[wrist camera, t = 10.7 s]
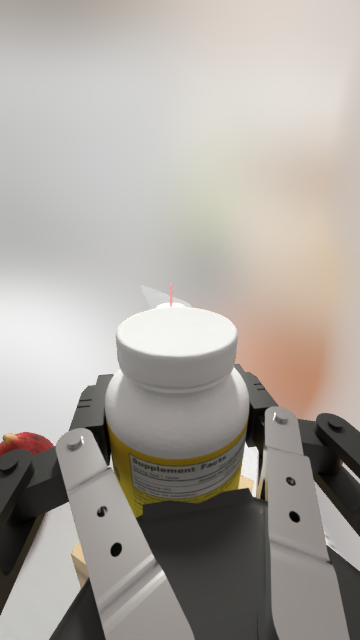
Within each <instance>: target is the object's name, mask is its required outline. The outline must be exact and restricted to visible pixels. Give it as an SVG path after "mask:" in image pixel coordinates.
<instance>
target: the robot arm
mask: <svg viewBox="0 0 360 640" xmlns="http://www.w3.org/2000/svg"><path fill="white" fill-rule="evenodd" d="M234 368H235V369H236V370H237V371H238V372H239V374H240V375H241V376H242V378H243V380H244V382H245V384H246V387H247V390H248V394H249V417H248V424H247V432H246V438H245V442H246V444H247V446H248V447H255V446H256V447H257V449H258V456H257V489H256V497H252V494H251V492H250V489H249V488H243V489H237V490H231V491H224V492H222V493H220V494H218V495H216V496H214V497H212V498H210V499H208V500H206V501H204V502H202V503H189V502H180V501H172V500H168V501H162V502H156V503H150V504H143V515H141V516H139V517H137V518H135V516H134V514H133V512H132V510H131V508H130V505H129V503H128V501H127V499H126V497H125V495H124V493H123V491H122V489H121V486H120V484H119V482H118V480H117V478H116V476H115V474H114V472H113V470H112V468H111V467H109V468H108V467H107V466H109V463H110V455H111V448H110V442H109V435H108V429H107V422H106V416H105V395H106V391H107V388H108V385H109V383H110V381H111V379H112V377H113V376H114V375H113V374H108V375H99V376H98V379H97V383H96V385H93V386H88V387H87V388H86V389H85V390H84V391H83V392H82V394H81V397H80V400H79V403H78V405H77V408H76V411H75V414H74V417H73V420H72V423H71V426H70V429H69V432H67V433H65V434H64V435H63V436H62V437H61V438H60V439H59V440H58V442H57V444H56V446H54V447H53V448H51V449H48V450H46V451H43V452H40V453H38V454H35V455H32V454H31V452H30V451H29V450H26V449H16V450H12V451H9V452H7V453H5V454H3V455H2V456H0V615H1V613H2V610H3V608H4V606H5V604H6V601H7V599H8V597H9V594H10V592H11V590H12V588H13V585H14V583H15V581H16V579H17V576H18V574H19V572H20V569H21V567H22V565H23V563H24V560H25V558H26V556H27V553H28V551H29V549H30V547H31V544H32V542H33V540H34V538H35V535H36V533H37V531H38V528H39V526H40V524H41V522H42V519H43V517H44V515H45V513H46V512H48V511H50V510H52V509H54V508H56V507H58V506H61V505H63V504H65V503H67V502H69V503H70V507H71V510H72V514H73V518H74V522H75V525H76V529H77V533H78V537H79V541H80V544H81V548H82V552H83V556H84V560H85V563H86V567H87V571H88V575H89V578H88V579H87V581H86V582H85V584H84V585H83V587H82V589H81V590H80V592H79V593H78V595H77V596H76V598H75V600H74V601H73V603H72V604H71V606H70V607H69V609H68V611H67V612H66V614H65V615H64V617H63V619H62V620H61V622H60V623H59V625H58V626H57V628H56V630H55V631H54V633H53V634H52V636H51V637H50V639H49V640H360V571H358V570H357V569H356V568H355V567H353V566H352V565H351V564H350V563H349V562H347V561H346V560H345V559H344V558H342V557H341V556H340V555H339V554H337V553H336V552H335V551H334V550H332V549H331V548H330V547H329V546H327V545H326V541H325V536H324V531H323V526H322V521H321V515H320V510H319V505H318V500H317V495H316V490H315V484H314V481H315V482H316V483H317V484H318V485H319V487H320V488H321V489H322V491H323V492H324V493H325V494H326V495H327V497H328V498H329V499H330V500H331V502H332V503H333V504H334V505H335V507H336V508H337V509H338V510H339V511H340V513H341V514H342V515H343V517H344V518H345V519H346V520H347V522H348V523H349V524H350V525H351V527H352V528H353V529H354V530H355V531H356V533H357V534H358V535H359V536H360V484H359V483H358V482H357V481H356V480H355V478H354V477H353V476H351V475H350V473H349V472H348V471H347V470H346V469H345V468H344V467H343V466H342V464H343V462H344V463H345V464H346V465H347V466H348V467H349V468H350V469H351V470H352V471H353V472H354V473H355V474H356V475H357V476H358V477H359V478H360V432H359V431H358V430H356V429H355V428H354V427H353V426H352V425H350V424H349V423H348V422H347V421H346V420H344V419H342V418H340V417H339V416H336V415H333V414H328V413H322V414H319V415H318V416H317V418H316V422H315V421H308V420H301V419H297V418H296V416H295V415H294V414H293V413H292V412H290V411H289V410H287V409H285V408H282V407H279V406H278V405H277V403H276V402H275V401H274V400H273V398H272V397H271V396H270V394H269V393H268V392H267V390H265V388H264V386H263V385H262V384H261V382H260V381H259V380H258V378H257V377H256V376H254V375H253V374H251V373H250V372H245V371H244V370H243V369H242V367H241V366H240V364H234Z"/></svg>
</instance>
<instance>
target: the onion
mask: <svg viewBox="0 0 360 640" xmlns="http://www.w3.org/2000/svg"><path fill="white" fill-rule="evenodd" d="M3 440H4V441H3V442H2V443H1V444H0V456H2V455H3V454H5V453H7V452H9V451H12V450H16V449H26V450H29V451H30V452H31V454H32V455H35V454H38V453H40V452H43V451H46V450H48V449H51V448H53V447H54V446H53V444H52V443H51V442H50V441H49V440H48V439H46V438H45V437H43V436H41V435H38V434H34V433H29V432H23V433H19V434H15V435H14V434H11V433H8V434H5V435H4V436H3Z"/></svg>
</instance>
